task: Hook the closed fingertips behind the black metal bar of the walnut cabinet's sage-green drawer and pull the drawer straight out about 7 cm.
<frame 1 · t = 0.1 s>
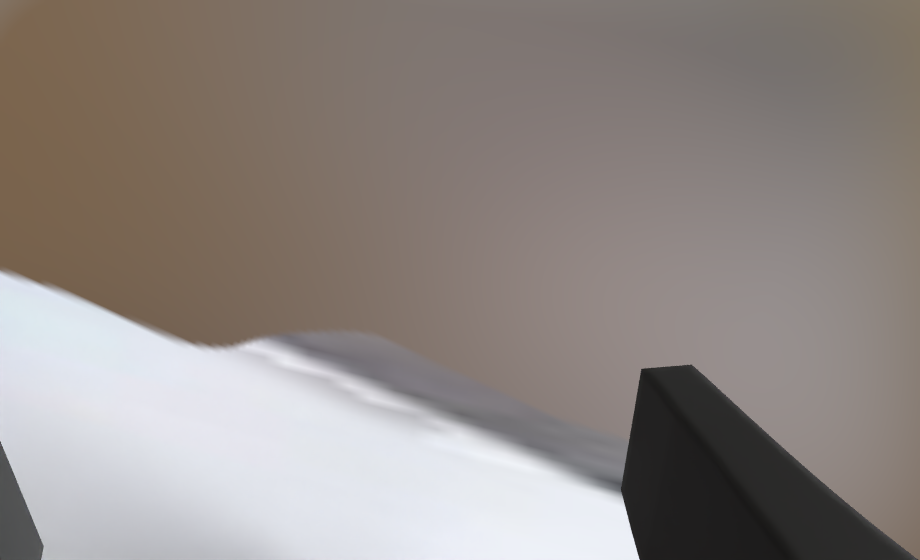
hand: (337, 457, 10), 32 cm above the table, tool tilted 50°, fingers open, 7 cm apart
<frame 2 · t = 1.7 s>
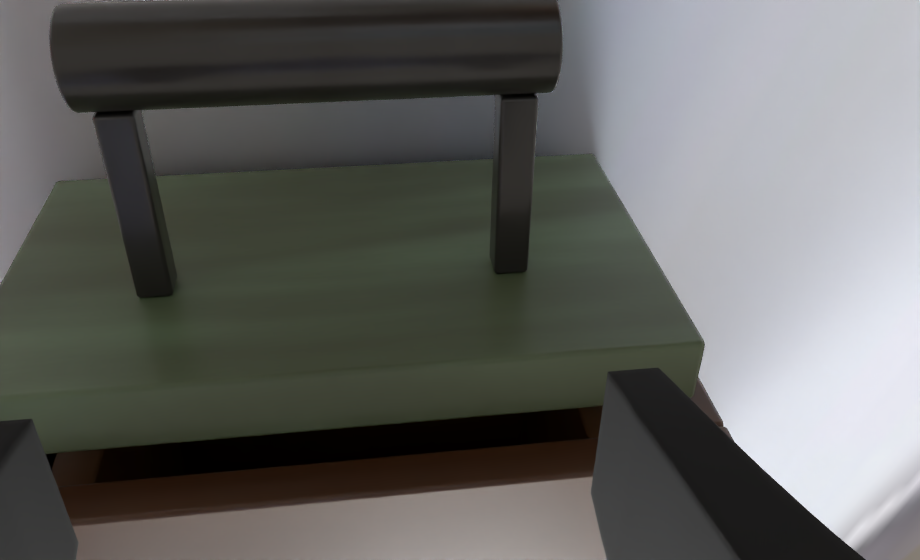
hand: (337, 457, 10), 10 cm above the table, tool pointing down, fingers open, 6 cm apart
drawer: (351, 425, 18), point 4 cm above the table, slide at 0.5 cm
cabinet: (357, 438, 24), on the table
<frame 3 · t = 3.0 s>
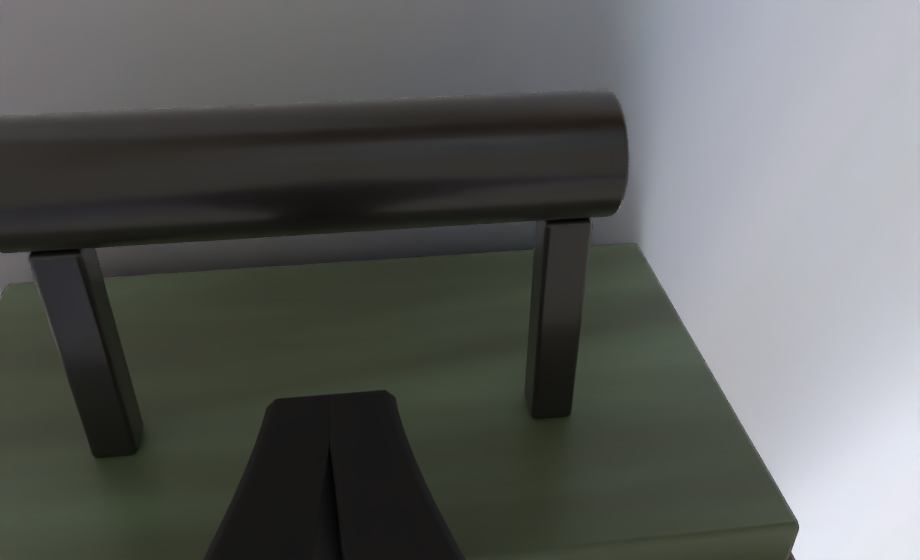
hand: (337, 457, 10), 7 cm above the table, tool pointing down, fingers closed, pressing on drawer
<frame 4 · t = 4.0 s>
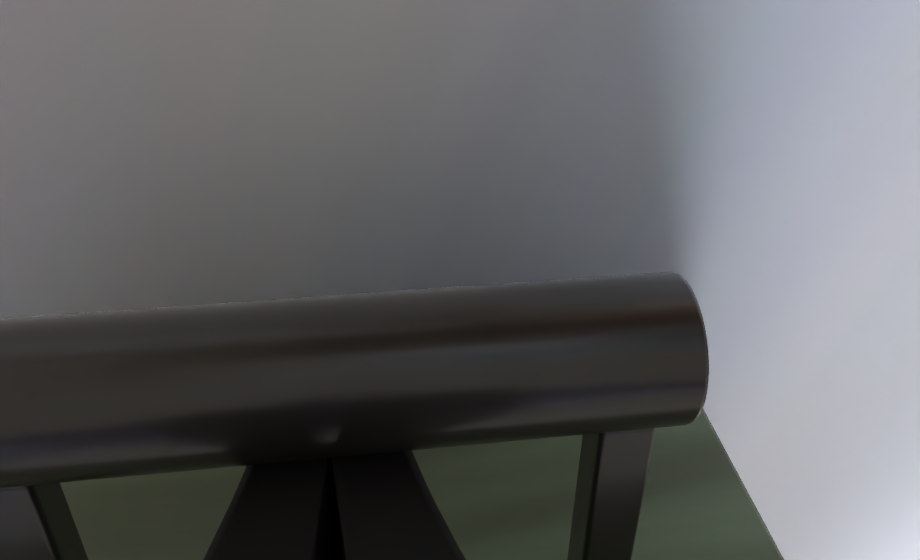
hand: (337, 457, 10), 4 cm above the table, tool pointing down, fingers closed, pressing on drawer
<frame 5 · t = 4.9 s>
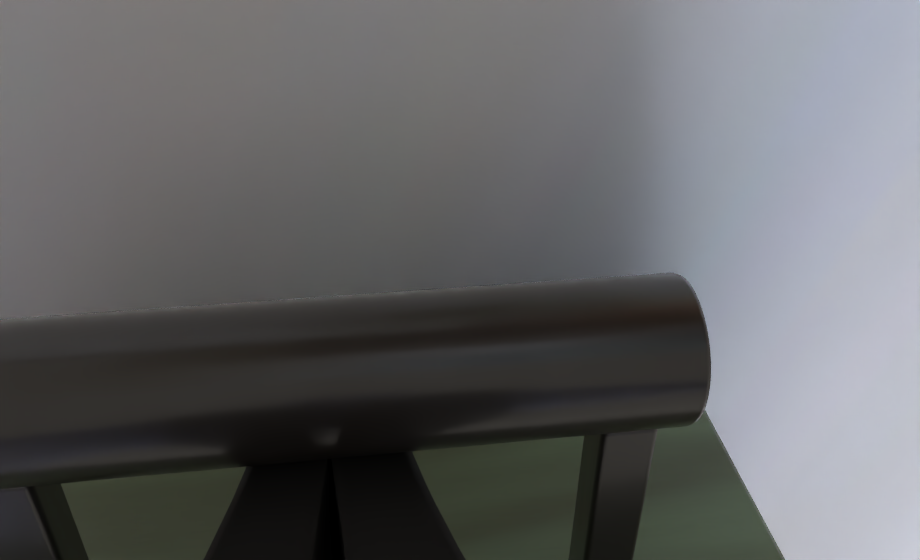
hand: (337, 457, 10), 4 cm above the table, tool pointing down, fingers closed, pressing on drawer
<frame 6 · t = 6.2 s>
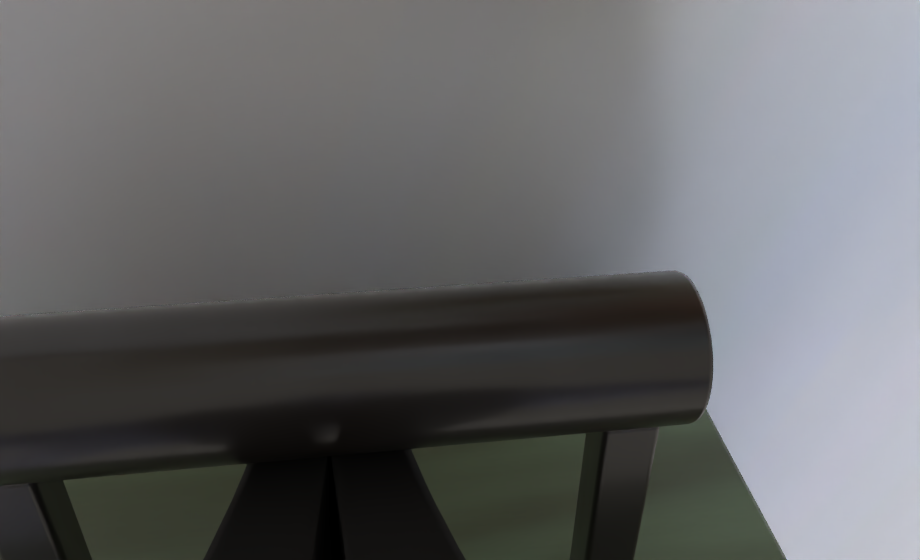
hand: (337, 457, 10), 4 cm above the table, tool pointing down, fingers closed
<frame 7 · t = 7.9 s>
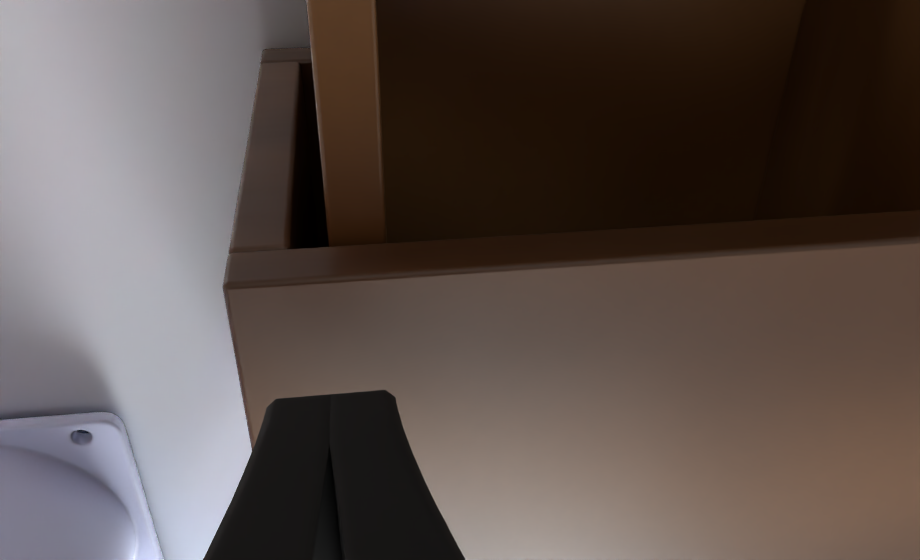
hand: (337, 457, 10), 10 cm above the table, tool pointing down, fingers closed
cabinet: (540, 311, 22), on the table
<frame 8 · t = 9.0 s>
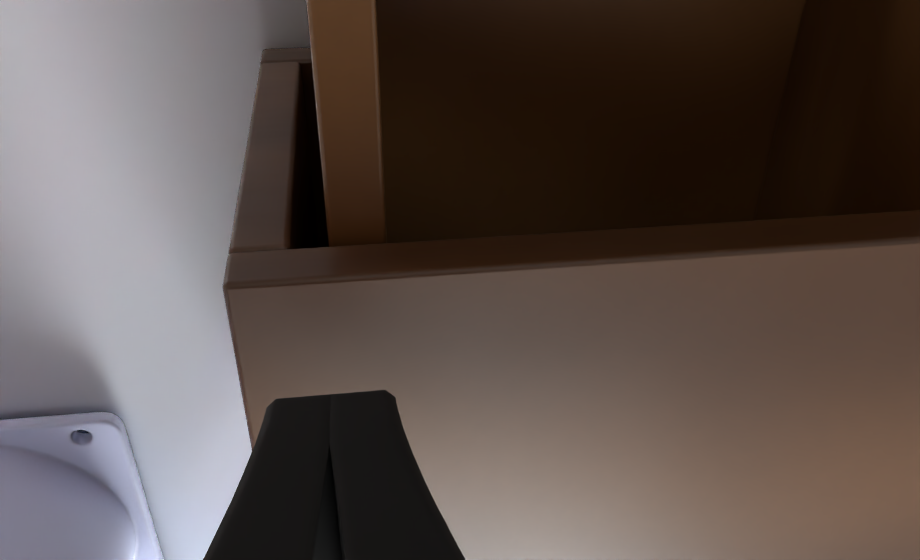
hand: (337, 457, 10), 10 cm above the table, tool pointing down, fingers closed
cabinet: (540, 311, 22), on the table
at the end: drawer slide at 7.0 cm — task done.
